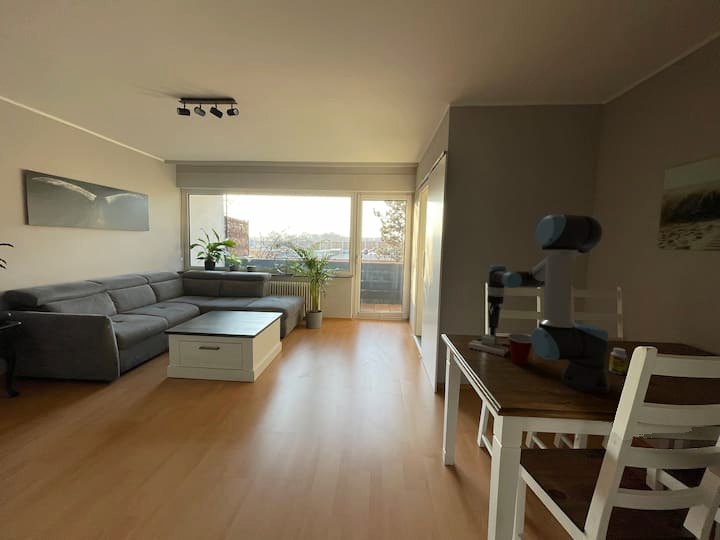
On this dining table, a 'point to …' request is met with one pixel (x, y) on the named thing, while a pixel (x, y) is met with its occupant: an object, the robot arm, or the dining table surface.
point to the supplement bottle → (618, 361)
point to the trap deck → (499, 349)
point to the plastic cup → (519, 347)
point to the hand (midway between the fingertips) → (492, 340)
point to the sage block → (489, 340)
